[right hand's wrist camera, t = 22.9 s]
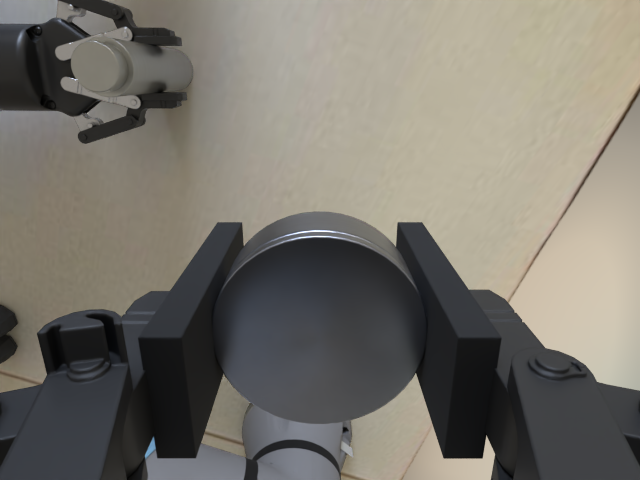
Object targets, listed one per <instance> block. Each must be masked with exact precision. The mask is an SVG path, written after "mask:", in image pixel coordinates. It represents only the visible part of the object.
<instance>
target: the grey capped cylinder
mask: <svg viewBox="0 0 640 480" xmlns="http://www.w3.org/2000/svg"><path fill="white" fill-rule="evenodd" d="M71 69H72V72H73V74H74V76H75V78H76V80H77V81H78V82H79V83H80V84H81V86H83V87H84V88H85V89H86V90H88V91H90V92H92V93H96V94H98V95H100V96H104V97H120V96H129V95H139V94H148V93H158V92H167V91H177V90H182V89H184V88H186V87H187V86H188V85H189V84H190V82H191V80H192V77H193V66H192V63H191V61H190V60H189V58H188V57H187V56H186V55H185V54H184V53H183V52H181V51H179V50H176V49H171V48H165V47H160V46H154V45H149V44H143V43H138V42H132V41H127V40H121V39H116V38H110V37H104V36H98V37H93V38H91V39H89V40H87V41H86V42H83V43H81V44H79V45H78V46H77V47H76V48H75V50H74V51H73V53H72V57H71Z"/></svg>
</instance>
